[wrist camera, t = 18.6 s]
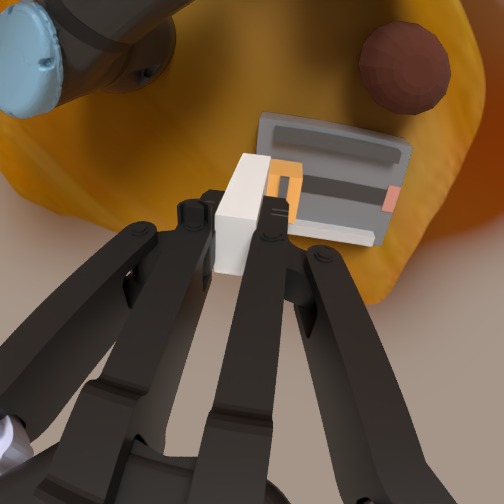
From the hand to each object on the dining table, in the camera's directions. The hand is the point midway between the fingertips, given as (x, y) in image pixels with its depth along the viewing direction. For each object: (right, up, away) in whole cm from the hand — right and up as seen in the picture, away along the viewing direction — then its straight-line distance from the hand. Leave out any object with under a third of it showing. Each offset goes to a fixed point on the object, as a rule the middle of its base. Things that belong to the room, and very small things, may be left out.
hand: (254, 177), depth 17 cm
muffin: (+18, +20, +15) cm, 31 cm away
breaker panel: (+10, +7, +26) cm, 29 cm away
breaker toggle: (+4, +5, +23) cm, 24 cm away
